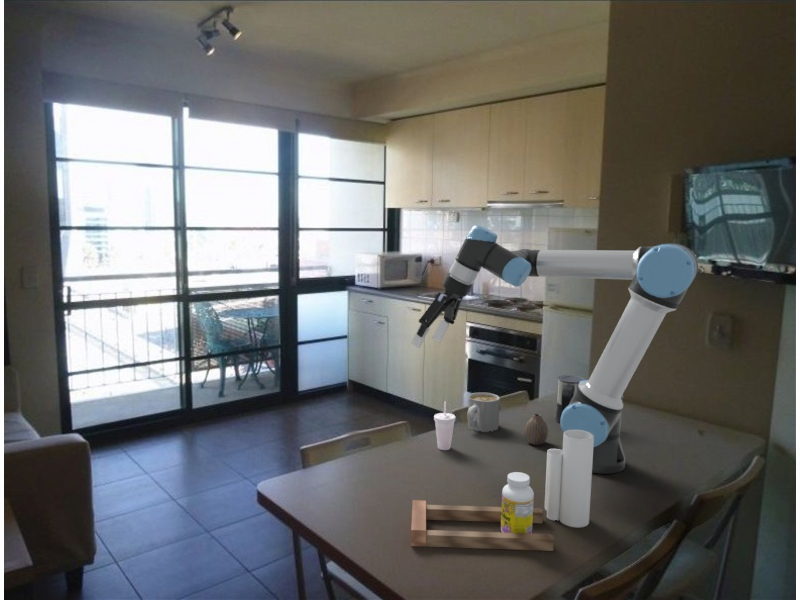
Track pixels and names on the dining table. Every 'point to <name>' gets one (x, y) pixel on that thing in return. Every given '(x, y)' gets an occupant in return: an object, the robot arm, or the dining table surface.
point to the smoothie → (444, 428)
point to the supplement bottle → (517, 504)
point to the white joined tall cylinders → (570, 479)
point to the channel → (470, 538)
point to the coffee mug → (483, 412)
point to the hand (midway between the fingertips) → (425, 342)
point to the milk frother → (566, 392)
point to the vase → (536, 430)
